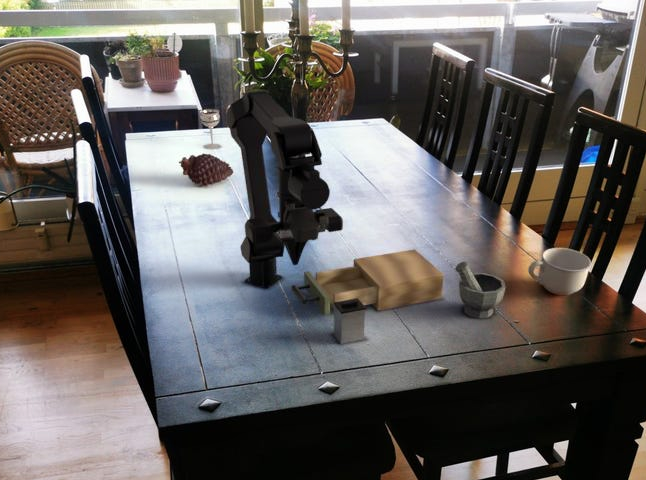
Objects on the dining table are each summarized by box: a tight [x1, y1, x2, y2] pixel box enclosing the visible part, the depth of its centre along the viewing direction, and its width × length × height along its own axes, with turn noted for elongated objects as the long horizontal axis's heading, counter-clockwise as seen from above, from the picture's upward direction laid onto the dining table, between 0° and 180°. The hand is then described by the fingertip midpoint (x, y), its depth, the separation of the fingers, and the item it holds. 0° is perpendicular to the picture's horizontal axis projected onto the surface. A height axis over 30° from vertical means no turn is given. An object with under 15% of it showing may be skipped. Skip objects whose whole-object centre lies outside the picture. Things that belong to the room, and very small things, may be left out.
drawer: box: [290, 265, 378, 316], centre depth 160 cm, size 19×13×4 cm
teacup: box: [527, 247, 592, 296], centre depth 166 cm, size 14×11×8 cm
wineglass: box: [199, 108, 221, 150], centre depth 253 cm, size 7×7×12 cm
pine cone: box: [178, 153, 234, 187], centre depth 222 cm, size 18×10×10 cm
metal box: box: [333, 298, 367, 345], centre depth 147 cm, size 5×4×8 cm
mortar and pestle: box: [455, 261, 506, 319], centre depth 156 cm, size 11×9×12 cm
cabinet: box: [352, 249, 445, 312], centre depth 165 cm, size 16×14×6 cm
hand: (294, 264), depth 148 cm, fingers closed
